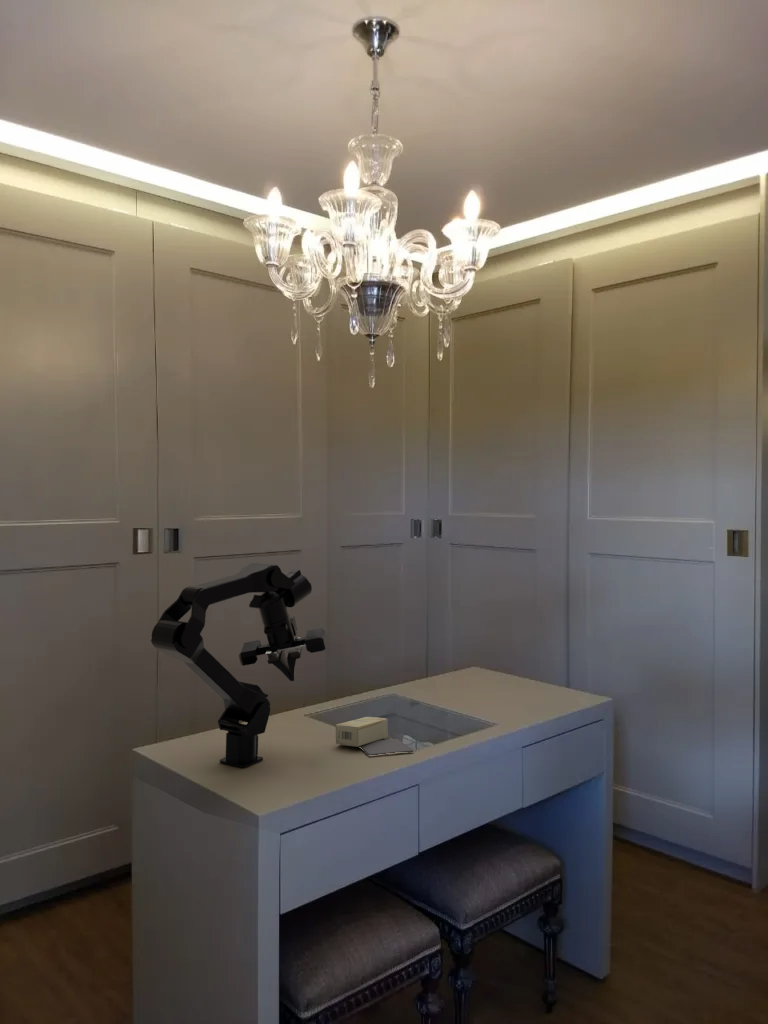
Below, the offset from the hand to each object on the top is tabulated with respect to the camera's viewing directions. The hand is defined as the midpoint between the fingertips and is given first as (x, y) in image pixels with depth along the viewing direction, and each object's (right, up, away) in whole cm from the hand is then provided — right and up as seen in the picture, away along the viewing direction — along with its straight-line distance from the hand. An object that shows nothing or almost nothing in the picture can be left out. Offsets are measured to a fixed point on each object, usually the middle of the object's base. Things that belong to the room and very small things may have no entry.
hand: (292, 680), depth 170 cm
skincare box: (+12, -12, -2) cm, 17 cm away
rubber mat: (+20, -15, -1) cm, 25 cm away
